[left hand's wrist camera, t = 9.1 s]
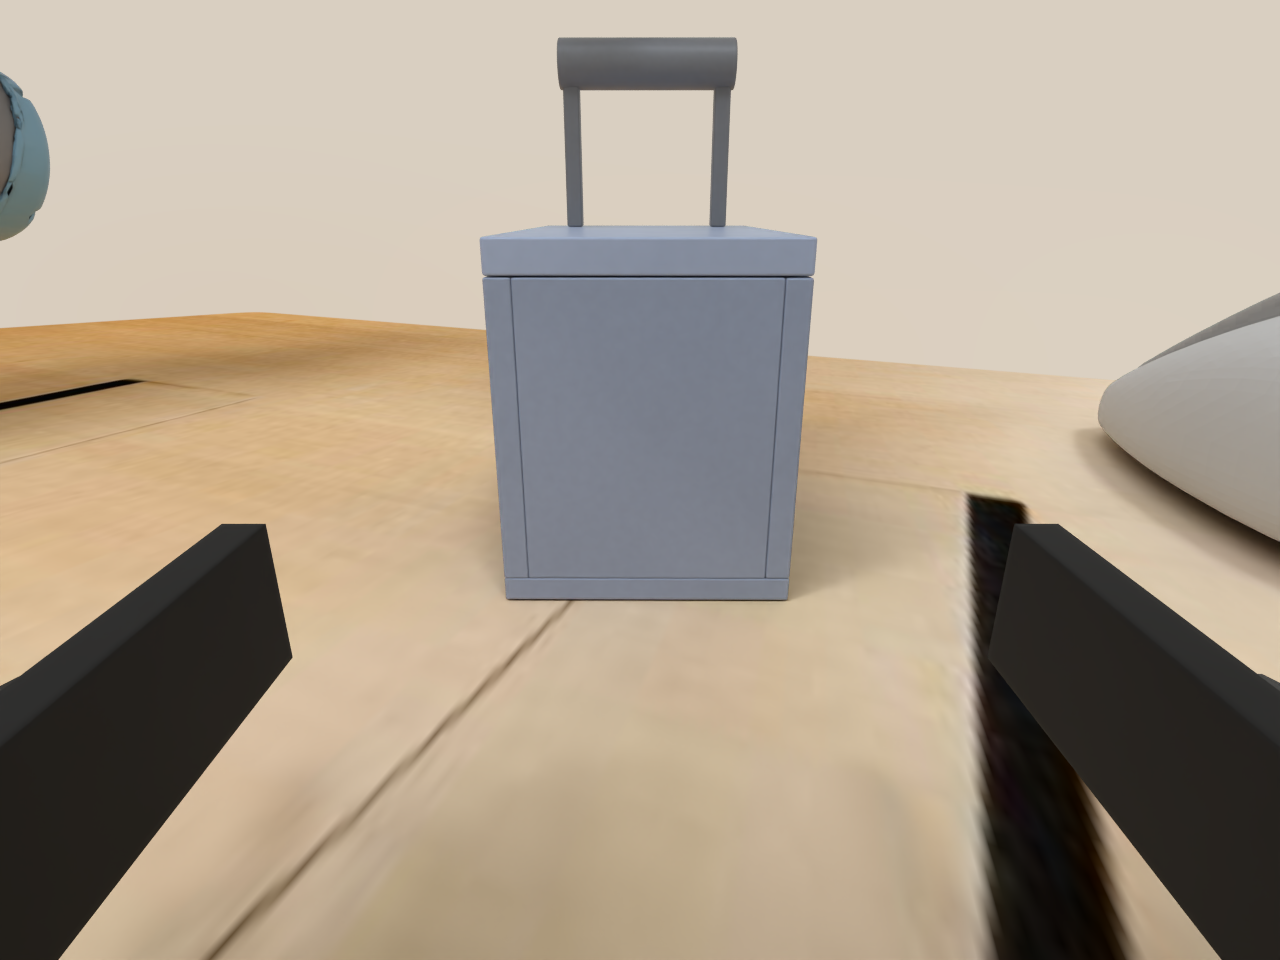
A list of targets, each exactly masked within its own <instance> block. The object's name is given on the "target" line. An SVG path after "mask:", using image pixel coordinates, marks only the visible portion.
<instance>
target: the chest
mask: <svg viewBox="0 0 1280 960" xmlns="http://www.w3.org/2000/svg"><path fill="white" fill-rule="evenodd" d="M813 284H814V280H813V278H811V277H809V276H487V277H484V278H483V293H484V306H485V320H486V333H487V346H488V360H489V373H490V387H491V400H492V413H493V427H494V440H495V454H496V467H497V480H498V494H499V507H500V521H501V534H502V547H503V561H504V574H505V588H506V598H507V599H696V600H787V598H788V587H789V574H790V562H791V549H792V537H793V525H794V513H795V501H796V489H797V477H798V465H799V453H800V441H801V429H802V417H803V405H804V393H805V381H806V369H807V357H808V345H809V332H810V320H811V308H812V296H813Z"/></svg>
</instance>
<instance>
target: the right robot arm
mask: <svg viewBox="0 0 1280 960" xmlns="http://www.w3.org/2000/svg"><path fill="white" fill-rule="evenodd" d="M22 96H23V92H22V90H21V88H20V87H19V86H18V85H17V84H16V83H15V82H14V81H13V80H11V79H10V78H9V77H7V76H6V75H4V74H3V73H1V72H0V241H2V240H5V239H8V238H10V237H13V236H15V235H16V234H18V233H20V232H21V231H23V230H24V229H25V228H26V227H27V226H28V225H29V224H30V223H31V221H32V220H33V219H34V216H35V211H37V210H39V209H40V208H41V207H42V204H43V202H44V199H45V196H46V193H47V189H48V184H49V176H50V159H49V149H48V143H47V138H46V135H45V131H44V128H43V125H42V122H41V120H40V118H39V115H38V113H37V111H36V109H35V107H34V106H33V104H32V103H31V101H30V100H28V99H26V98H23V97H22Z"/></svg>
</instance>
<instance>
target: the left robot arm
mask: <svg viewBox="0 0 1280 960" xmlns="http://www.w3.org/2000/svg"><path fill="white" fill-rule="evenodd" d="M291 659H292V652H291V647H290V642H289V638H288V633H287V628H286V623H285V618H284V613H283V608H282V603H281V598H280V593H279V588H278V583H277V578H276V573H275V568H274V563H273V558H272V553H271V548H270V544H269V539H268V534H267V529H266V524H221V525H220V526H219V527H217V528H216V529H215V530H213V531H212V532H211V533H209V534H208V535H207V536H205V537H204V538H203V539H201V540H200V541H199V542H197V543H196V544H195V545H193V546H192V547H191V548H189V549H188V550H187V551H185V552H184V553H183V554H181V555H180V556H179V557H177V558H176V559H175V560H173V561H172V562H171V563H169V564H168V565H167V566H165V567H164V568H163V569H161V570H160V571H159V572H157V573H156V574H155V575H153V576H152V577H151V578H150V579H148V580H147V581H146V582H144V583H143V584H142V585H140V586H139V587H138V588H136V589H135V590H134V591H132V592H131V593H130V594H128V595H127V596H126V597H124V598H123V599H122V600H120V601H119V602H118V603H116V604H115V605H114V606H112V607H111V608H110V609H108V610H107V611H106V612H104V613H103V614H102V615H100V616H99V617H98V618H96V619H95V620H94V621H92V622H91V623H90V624H88V625H87V626H86V627H85V628H83V629H82V630H81V631H79V632H78V633H77V634H75V635H74V636H73V637H71V638H70V639H69V640H67V641H66V642H65V643H63V644H62V645H61V646H59V647H58V648H57V649H55V650H54V651H53V652H51V653H50V654H49V655H47V656H46V657H45V658H43V659H42V660H41V661H39V662H38V663H37V664H35V665H34V666H33V667H31V668H30V669H29V670H27V671H26V672H25V673H23V674H22V675H21V676H20V677H17V678H15V679H13V680H11V681H9V682H7V683H5V684H3V685H1V686H0V960H58V959H59V958H60V957H61V956H62V954H63V953H64V952H65V950H66V949H67V948H68V947H69V945H70V944H71V943H72V941H73V940H74V939H75V938H76V936H77V935H78V934H79V932H80V931H81V930H82V928H83V927H84V926H85V925H86V923H87V922H88V921H89V919H90V918H91V917H92V916H93V914H94V913H95V912H96V910H97V909H98V908H99V907H100V905H101V904H102V903H103V901H104V900H105V899H106V897H107V896H108V895H109V894H110V892H111V891H112V890H113V888H114V887H115V886H116V885H117V883H118V882H119V881H120V879H121V878H122V877H123V876H124V874H125V873H126V872H127V870H128V869H129V868H130V867H131V865H132V864H133V863H134V861H135V860H136V859H137V857H138V856H139V855H140V854H141V852H142V851H143V850H144V848H145V847H146V846H147V845H148V843H149V842H150V841H151V839H152V838H153V837H154V836H155V834H156V833H157V832H158V830H159V829H160V828H161V826H162V825H163V824H164V823H165V821H166V820H167V819H168V817H169V816H170V815H171V814H172V812H173V811H174V810H175V808H176V807H177V806H178V805H179V803H180V802H181V801H182V799H183V798H184V797H185V796H186V794H187V793H188V792H189V790H190V789H191V788H192V786H193V785H194V784H195V783H196V781H197V780H198V779H199V777H200V776H201V775H202V774H203V772H204V771H205V770H206V768H207V767H208V766H209V765H210V763H211V762H212V761H213V759H214V758H215V757H216V755H217V754H218V753H219V752H220V750H221V749H222V748H223V746H224V745H225V744H226V743H227V741H228V740H229V739H230V737H231V736H232V735H233V734H234V732H235V731H236V730H237V728H238V727H239V726H240V725H241V723H242V722H243V721H244V719H245V718H246V717H247V715H248V714H249V713H250V712H251V710H252V709H253V708H254V706H255V705H256V704H257V703H258V701H259V700H260V699H261V697H262V696H263V695H264V694H265V692H266V691H267V690H268V688H269V687H270V686H271V684H272V683H273V682H274V681H275V679H276V678H277V677H278V675H279V674H280V673H281V672H282V670H283V669H284V668H285V666H286V665H287V664H288V663H289V661H290V660H291ZM988 659H989V660H990V661H991V663H992V664H993V665H994V666H995V668H996V669H997V670H998V672H999V673H1000V674H1001V675H1002V677H1003V678H1004V679H1005V681H1006V682H1007V683H1008V684H1009V686H1010V687H1011V688H1012V690H1013V691H1014V692H1015V694H1016V695H1017V696H1018V697H1019V699H1020V700H1021V701H1022V703H1023V704H1024V705H1025V706H1026V708H1027V709H1028V710H1029V712H1030V713H1031V714H1032V715H1033V717H1034V718H1035V719H1036V721H1037V722H1038V723H1039V725H1040V726H1041V727H1042V728H1043V730H1044V731H1045V732H1046V734H1047V735H1048V736H1049V737H1050V739H1051V740H1052V741H1053V743H1054V744H1055V745H1056V746H1057V748H1058V749H1059V750H1060V752H1061V753H1062V754H1063V755H1064V757H1065V758H1066V759H1067V761H1068V762H1069V763H1070V765H1071V766H1072V767H1073V768H1074V770H1075V771H1076V772H1077V774H1078V775H1079V776H1080V777H1081V779H1082V780H1083V781H1084V783H1085V784H1086V785H1087V786H1088V788H1089V789H1090V790H1091V792H1092V793H1093V794H1094V796H1095V797H1096V798H1097V799H1098V801H1099V802H1100V803H1101V805H1102V806H1103V807H1104V808H1105V810H1106V811H1107V812H1108V814H1109V815H1110V816H1111V817H1112V819H1113V820H1114V821H1115V823H1116V824H1117V825H1118V826H1119V828H1120V829H1121V830H1122V832H1123V833H1124V834H1125V836H1126V837H1127V838H1128V839H1129V841H1130V842H1131V843H1132V845H1133V846H1134V847H1135V848H1136V850H1137V851H1138V852H1139V854H1140V855H1141V856H1142V857H1143V859H1144V860H1145V861H1146V863H1147V864H1148V865H1149V867H1150V868H1151V869H1152V870H1153V872H1154V873H1155V874H1156V876H1157V877H1158V878H1159V879H1160V881H1161V882H1162V883H1163V885H1164V886H1165V887H1166V888H1167V890H1168V891H1169V892H1170V894H1171V895H1172V896H1173V897H1174V899H1175V900H1176V901H1177V903H1178V904H1179V905H1180V907H1181V908H1182V909H1183V910H1184V912H1185V913H1186V914H1187V916H1188V917H1189V918H1190V919H1191V921H1192V922H1193V923H1194V925H1195V926H1196V927H1197V928H1198V930H1199V931H1200V932H1201V934H1202V935H1203V936H1204V938H1205V939H1206V940H1207V941H1208V943H1209V944H1210V945H1211V947H1212V948H1213V949H1214V950H1215V952H1216V953H1217V954H1218V956H1219V957H1220V958H1221V959H1222V960H1280V683H1279V682H1277V681H1275V680H1273V679H1271V678H1269V677H1267V676H1265V675H1263V674H1257V673H1255V672H1254V671H1253V670H1251V669H1250V668H1249V667H1247V666H1246V665H1245V664H1243V663H1242V662H1241V661H1239V660H1238V659H1237V658H1235V657H1234V656H1233V655H1231V654H1230V653H1229V652H1227V651H1226V650H1225V649H1223V648H1222V647H1221V646H1219V645H1218V644H1217V643H1215V642H1214V641H1213V640H1211V639H1210V638H1209V637H1207V636H1206V635H1205V634H1203V633H1202V632H1201V631H1199V630H1198V629H1197V628H1195V627H1194V626H1193V625H1192V624H1190V623H1189V622H1188V621H1186V620H1185V619H1184V618H1182V617H1181V616H1180V615H1178V614H1177V613H1176V612H1174V611H1173V610H1172V609H1170V608H1169V607H1168V606H1166V605H1165V604H1164V603H1162V602H1161V601H1160V600H1158V599H1157V598H1156V597H1154V596H1153V595H1152V594H1150V593H1149V592H1148V591H1146V590H1145V589H1144V588H1142V587H1141V586H1140V585H1138V584H1137V583H1136V582H1134V581H1133V580H1132V579H1130V578H1129V577H1128V576H1127V575H1125V574H1124V573H1123V572H1121V571H1120V570H1119V569H1117V568H1116V567H1115V566H1113V565H1112V564H1111V563H1109V562H1108V561H1107V560H1105V559H1104V558H1103V557H1101V556H1100V555H1099V554H1097V553H1096V552H1095V551H1093V550H1092V549H1091V548H1089V547H1088V546H1087V545H1085V544H1084V543H1083V542H1081V541H1080V540H1079V539H1077V538H1076V537H1075V536H1073V535H1072V534H1071V533H1069V532H1068V531H1067V530H1065V529H1064V528H1063V527H1061V526H1060V525H1059V524H1014V529H1013V534H1012V539H1011V544H1010V548H1009V553H1008V558H1007V563H1006V568H1005V573H1004V578H1003V583H1002V588H1001V593H1000V598H999V603H998V608H997V613H996V618H995V623H994V628H993V633H992V638H991V642H990V647H989V652H988Z"/></svg>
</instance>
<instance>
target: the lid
mask: <svg viewBox="0 0 1280 960" xmlns="http://www.w3.org/2000/svg"><path fill="white" fill-rule="evenodd" d="M557 68H558V79H559V86H560V89H561V90H563V99H564V129H565V159H566V189H567V220H568V226H544V227H538V228H532V229H526V230H520V231H514V232H508V233H502V234H497V235H491V236H484V237H481V238H480V250H481V264H482V274H483V275H485V276H812V275H814V272H815V260H816V248H817V238H816V237H811V236H805V235H799V234H792V233H786V232H780V231H774V230H767V229H761V228H755V227H748V226H725V222H726V198H727V173H728V148H729V123H730V98H731V90H733V89H734V85H735V80H736V71H737V40H736V38H558V41H557ZM580 90H714V103H713V134H712V164H711V195H710V226H583V188H582V149H581V110H580Z"/></svg>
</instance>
